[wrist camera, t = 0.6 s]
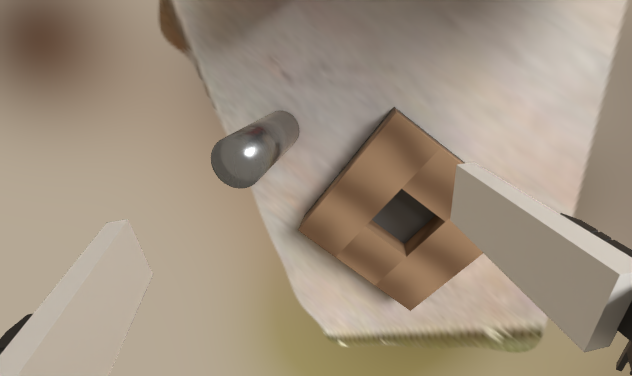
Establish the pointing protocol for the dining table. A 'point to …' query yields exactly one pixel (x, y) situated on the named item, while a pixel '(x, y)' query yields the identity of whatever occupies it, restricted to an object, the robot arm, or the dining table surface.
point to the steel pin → (254, 149)
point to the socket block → (394, 213)
